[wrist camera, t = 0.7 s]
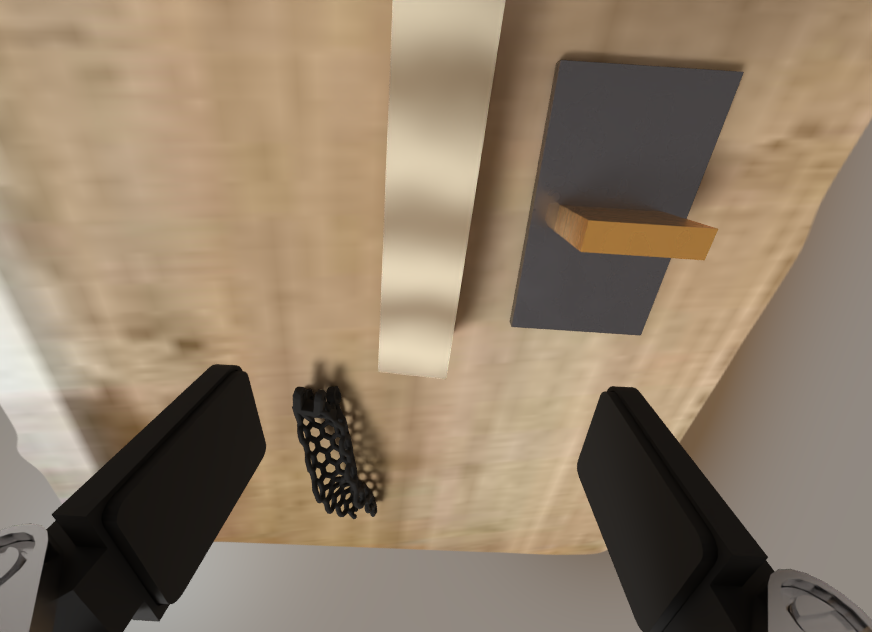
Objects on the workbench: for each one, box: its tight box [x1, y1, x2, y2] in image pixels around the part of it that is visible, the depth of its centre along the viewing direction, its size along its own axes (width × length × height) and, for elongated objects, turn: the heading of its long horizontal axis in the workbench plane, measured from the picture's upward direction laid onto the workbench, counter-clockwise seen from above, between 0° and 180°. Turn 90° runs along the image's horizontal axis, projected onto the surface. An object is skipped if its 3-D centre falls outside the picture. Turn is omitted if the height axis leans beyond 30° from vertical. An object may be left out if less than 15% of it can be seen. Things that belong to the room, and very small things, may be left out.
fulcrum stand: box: [510, 60, 744, 335], centre depth 24 cm, size 20×12×7 cm, turn 177°
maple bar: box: [378, 0, 505, 379], centre depth 25 cm, size 24×6×7 cm, turn 174°
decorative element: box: [292, 386, 377, 519], centre depth 38 cm, size 22×5×6 cm, turn 10°
